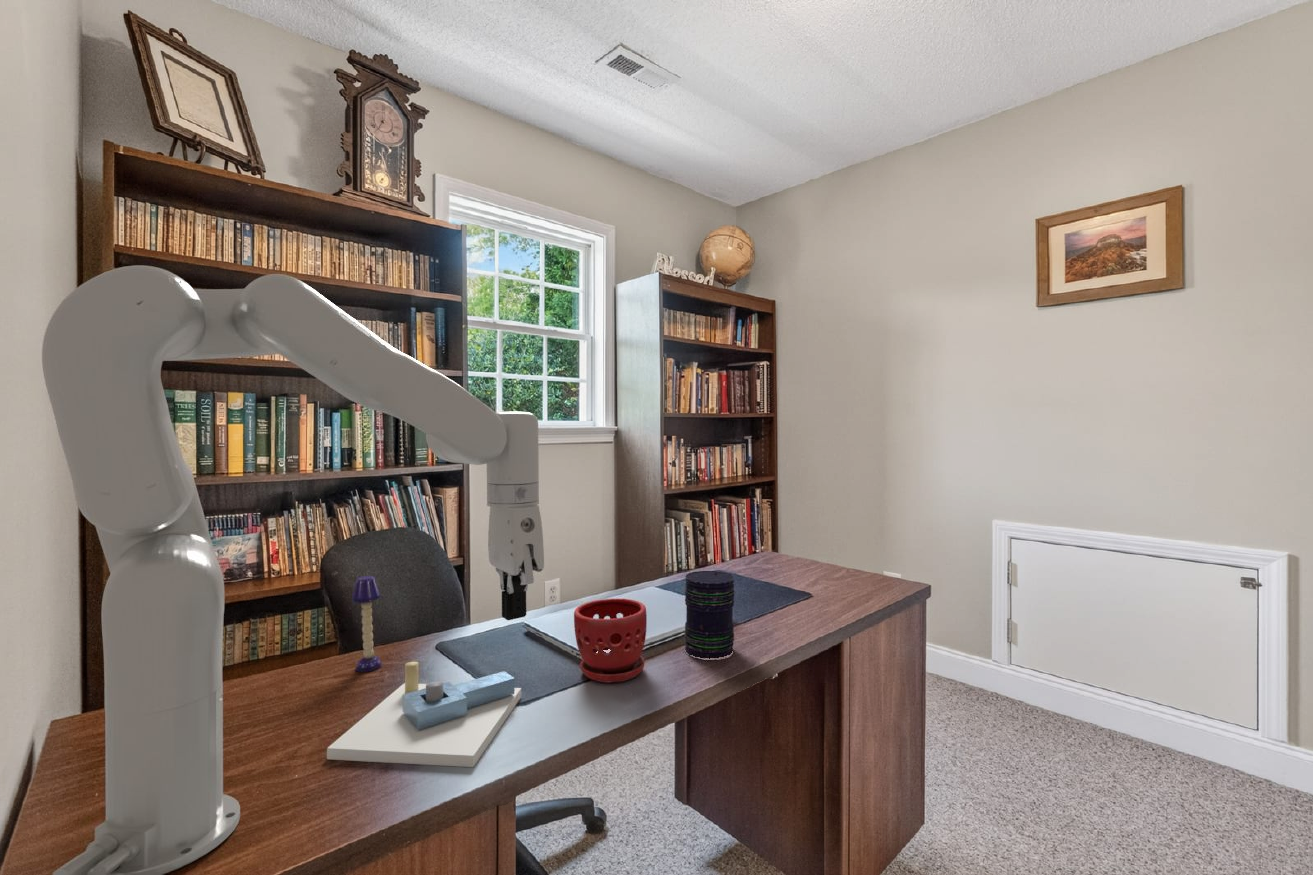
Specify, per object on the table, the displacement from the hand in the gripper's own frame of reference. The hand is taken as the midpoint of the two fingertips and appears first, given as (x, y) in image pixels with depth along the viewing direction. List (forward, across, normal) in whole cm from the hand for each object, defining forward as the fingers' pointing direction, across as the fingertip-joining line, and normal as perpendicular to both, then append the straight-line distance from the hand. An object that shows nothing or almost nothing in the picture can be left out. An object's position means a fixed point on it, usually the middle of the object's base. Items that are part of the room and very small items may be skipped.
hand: (514, 617), depth 87 cm
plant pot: (+16, +6, -21) cm, 28 cm away
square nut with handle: (+14, +7, +5) cm, 17 cm away
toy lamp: (+16, +36, +13) cm, 41 cm away
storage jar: (+17, +3, -43) cm, 46 cm away
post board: (+16, +7, +10) cm, 20 cm away
